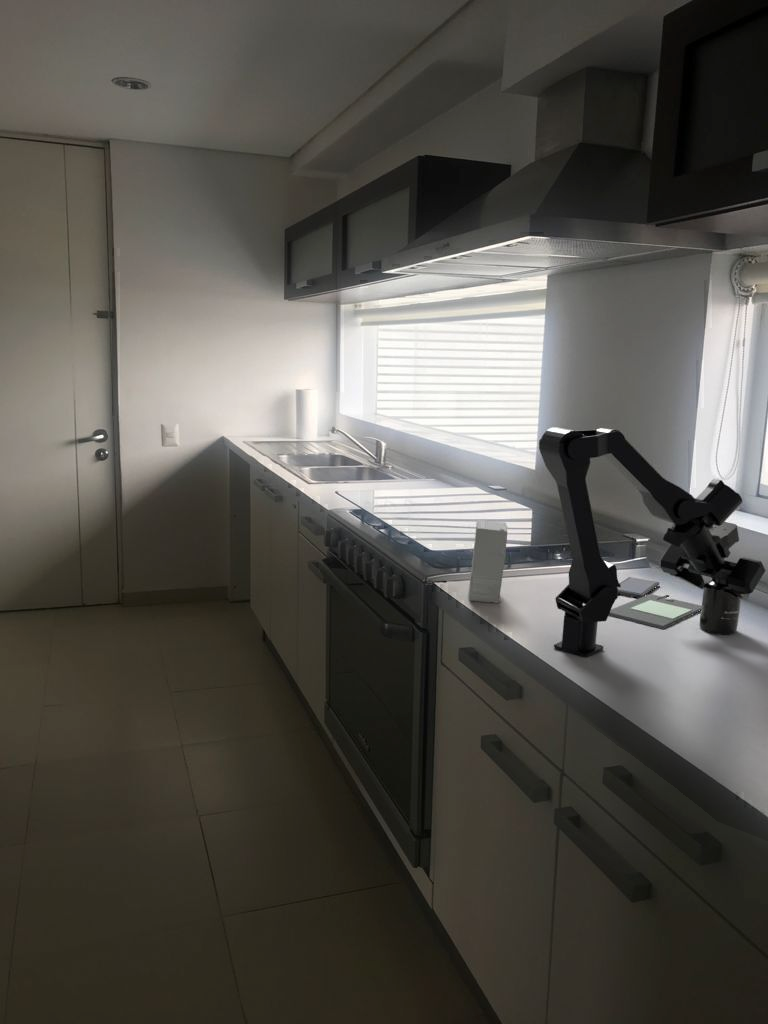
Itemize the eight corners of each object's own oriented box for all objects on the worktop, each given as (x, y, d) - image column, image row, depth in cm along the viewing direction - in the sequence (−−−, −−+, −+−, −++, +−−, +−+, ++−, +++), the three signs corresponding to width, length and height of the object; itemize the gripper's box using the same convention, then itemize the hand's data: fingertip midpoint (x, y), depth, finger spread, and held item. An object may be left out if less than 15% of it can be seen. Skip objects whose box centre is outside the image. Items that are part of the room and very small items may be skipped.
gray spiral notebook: (662, 628, 164) (663, 624, 164) (605, 614, 172) (606, 609, 172) (704, 609, 179) (704, 604, 178) (650, 596, 187) (650, 592, 186)
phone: (641, 598, 184) (642, 594, 184) (609, 593, 188) (610, 589, 188) (659, 585, 196) (659, 581, 196) (628, 580, 200) (629, 576, 200)
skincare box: (468, 590, 185) (473, 518, 182) (501, 593, 184) (507, 520, 181) (468, 601, 177) (473, 526, 174) (503, 604, 176) (508, 528, 173)
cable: (654, 604, 181) (654, 601, 181) (614, 594, 187) (614, 591, 187) (669, 598, 186) (669, 594, 186) (630, 589, 192) (630, 585, 192)
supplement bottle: (731, 638, 160) (738, 575, 158) (694, 630, 164) (701, 569, 162) (741, 629, 166) (748, 569, 163) (705, 622, 170) (712, 563, 168)
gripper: (766, 517, 151) (791, 571, 159) (674, 501, 165) (701, 550, 174) (736, 566, 147) (763, 618, 156) (645, 545, 162) (674, 593, 171)
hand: (724, 592), depth 164 cm, fingers open, 9 cm apart
